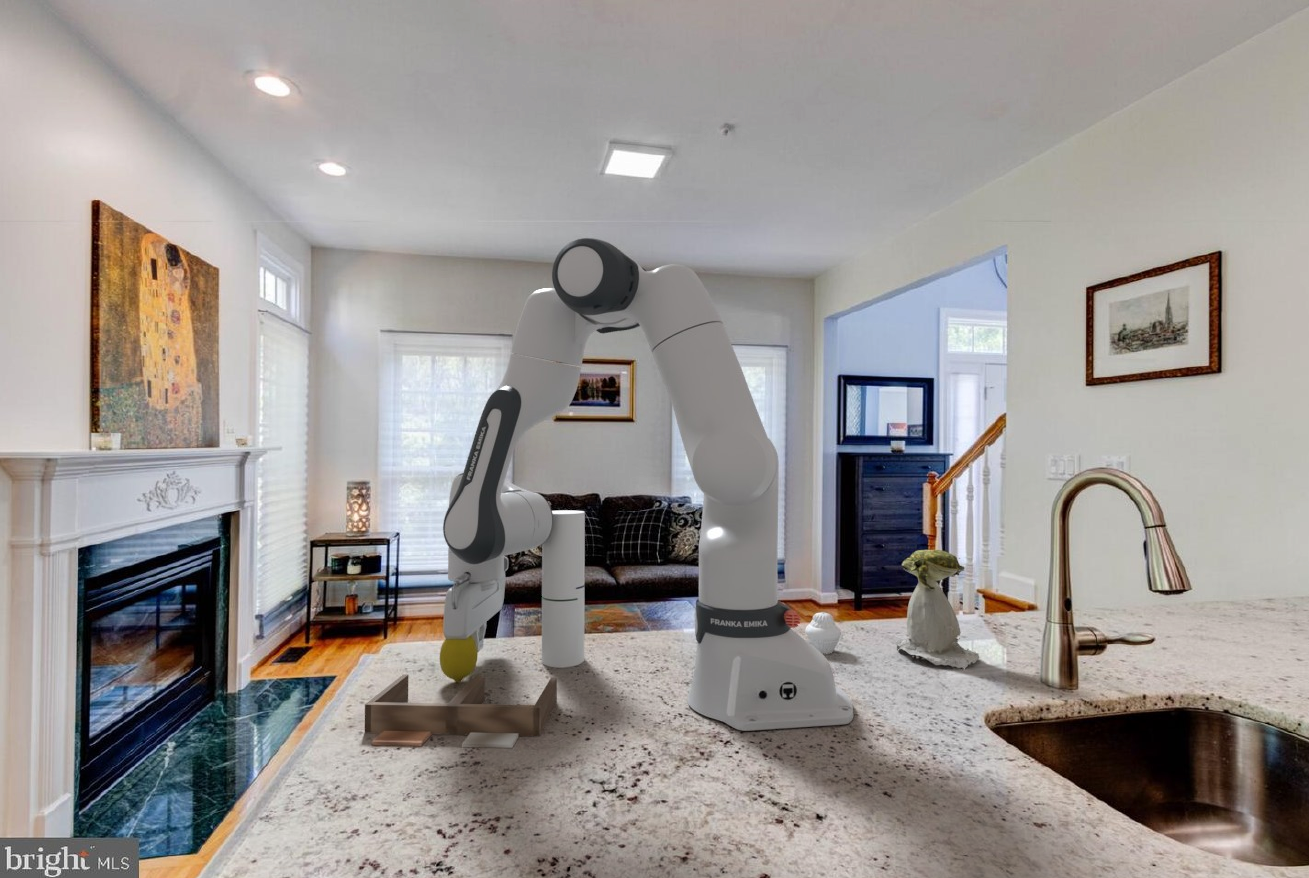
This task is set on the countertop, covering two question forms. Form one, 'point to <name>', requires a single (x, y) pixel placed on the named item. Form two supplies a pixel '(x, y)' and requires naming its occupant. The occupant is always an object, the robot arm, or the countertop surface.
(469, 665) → the lemon
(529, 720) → the bay rack
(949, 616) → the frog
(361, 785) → the countertop surface
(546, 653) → the cylindrical container
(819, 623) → the muffin
